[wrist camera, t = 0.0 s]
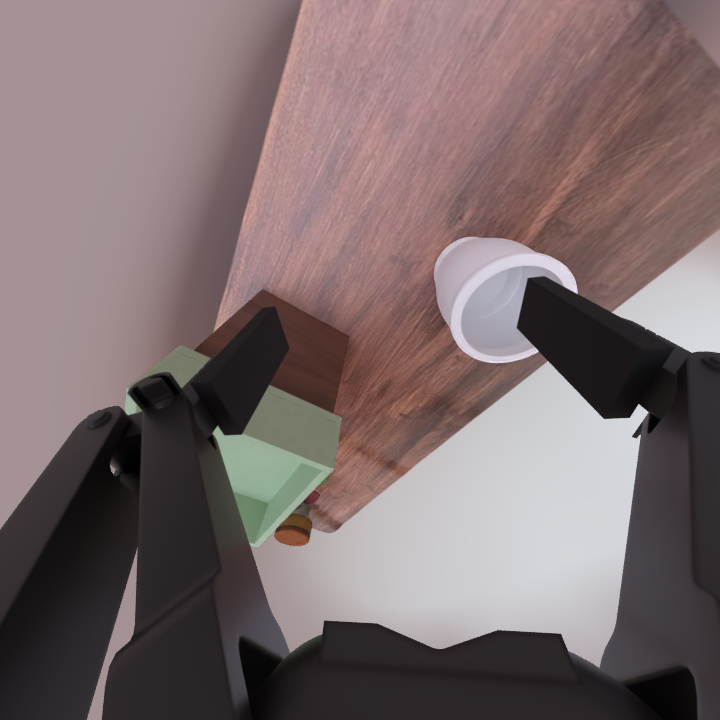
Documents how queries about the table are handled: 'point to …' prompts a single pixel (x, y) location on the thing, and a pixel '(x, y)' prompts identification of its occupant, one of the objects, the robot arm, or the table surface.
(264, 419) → the tray
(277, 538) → the toy figurine
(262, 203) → the table surface
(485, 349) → the jar
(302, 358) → the stand
